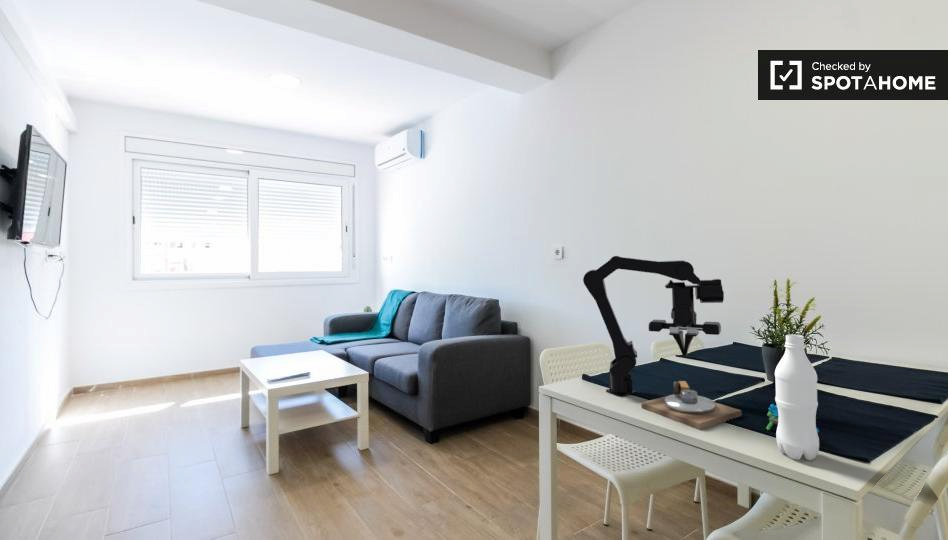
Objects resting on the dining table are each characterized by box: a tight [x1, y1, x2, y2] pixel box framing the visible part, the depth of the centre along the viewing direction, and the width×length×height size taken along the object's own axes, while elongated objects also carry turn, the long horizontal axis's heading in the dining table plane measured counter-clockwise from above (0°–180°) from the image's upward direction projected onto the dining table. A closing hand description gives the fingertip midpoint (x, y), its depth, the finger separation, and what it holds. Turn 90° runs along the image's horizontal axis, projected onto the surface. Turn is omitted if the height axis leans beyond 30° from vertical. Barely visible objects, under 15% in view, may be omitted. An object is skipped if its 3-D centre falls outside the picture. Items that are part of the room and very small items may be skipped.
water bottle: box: [774, 333, 820, 461], centre depth 91 cm, size 7×7×25 cm
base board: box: [640, 380, 742, 430], centre depth 118 cm, size 18×16×6 cm
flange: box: [665, 380, 716, 414], centre depth 120 cm, size 17×12×4 cm
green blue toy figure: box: [765, 403, 820, 434], centre depth 101 cm, size 11×6×10 cm
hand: (684, 355), depth 130 cm, fingers closed
